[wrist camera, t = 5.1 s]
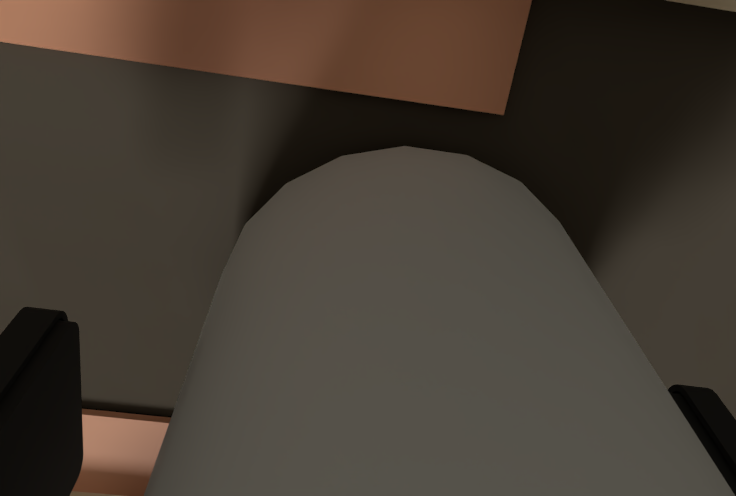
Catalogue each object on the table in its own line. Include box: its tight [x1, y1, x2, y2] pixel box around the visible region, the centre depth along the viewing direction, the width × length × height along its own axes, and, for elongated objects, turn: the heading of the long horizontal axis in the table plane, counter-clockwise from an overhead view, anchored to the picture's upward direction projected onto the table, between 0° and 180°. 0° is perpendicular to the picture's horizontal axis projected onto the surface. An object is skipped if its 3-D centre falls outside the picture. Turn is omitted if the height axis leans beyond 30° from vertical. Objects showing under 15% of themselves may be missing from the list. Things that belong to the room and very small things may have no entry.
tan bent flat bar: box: [0, 0, 736, 496], centre depth 13 cm, size 25×15×4 cm, turn 81°
